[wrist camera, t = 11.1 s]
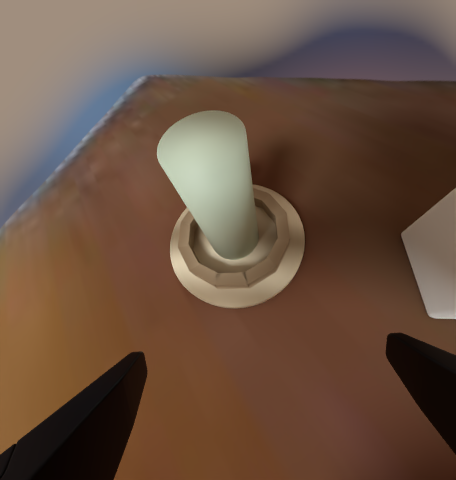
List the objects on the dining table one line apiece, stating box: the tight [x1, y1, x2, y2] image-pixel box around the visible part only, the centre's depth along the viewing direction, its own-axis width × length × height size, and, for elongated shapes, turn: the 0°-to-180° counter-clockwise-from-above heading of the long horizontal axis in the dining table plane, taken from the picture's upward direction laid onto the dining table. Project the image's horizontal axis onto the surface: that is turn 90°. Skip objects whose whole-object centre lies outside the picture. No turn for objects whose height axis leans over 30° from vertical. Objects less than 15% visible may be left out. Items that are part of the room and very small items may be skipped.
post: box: [157, 111, 259, 260], centre depth 15 cm, size 5×5×11 cm
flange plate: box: [170, 184, 305, 309], centre depth 19 cm, size 13×13×4 cm
